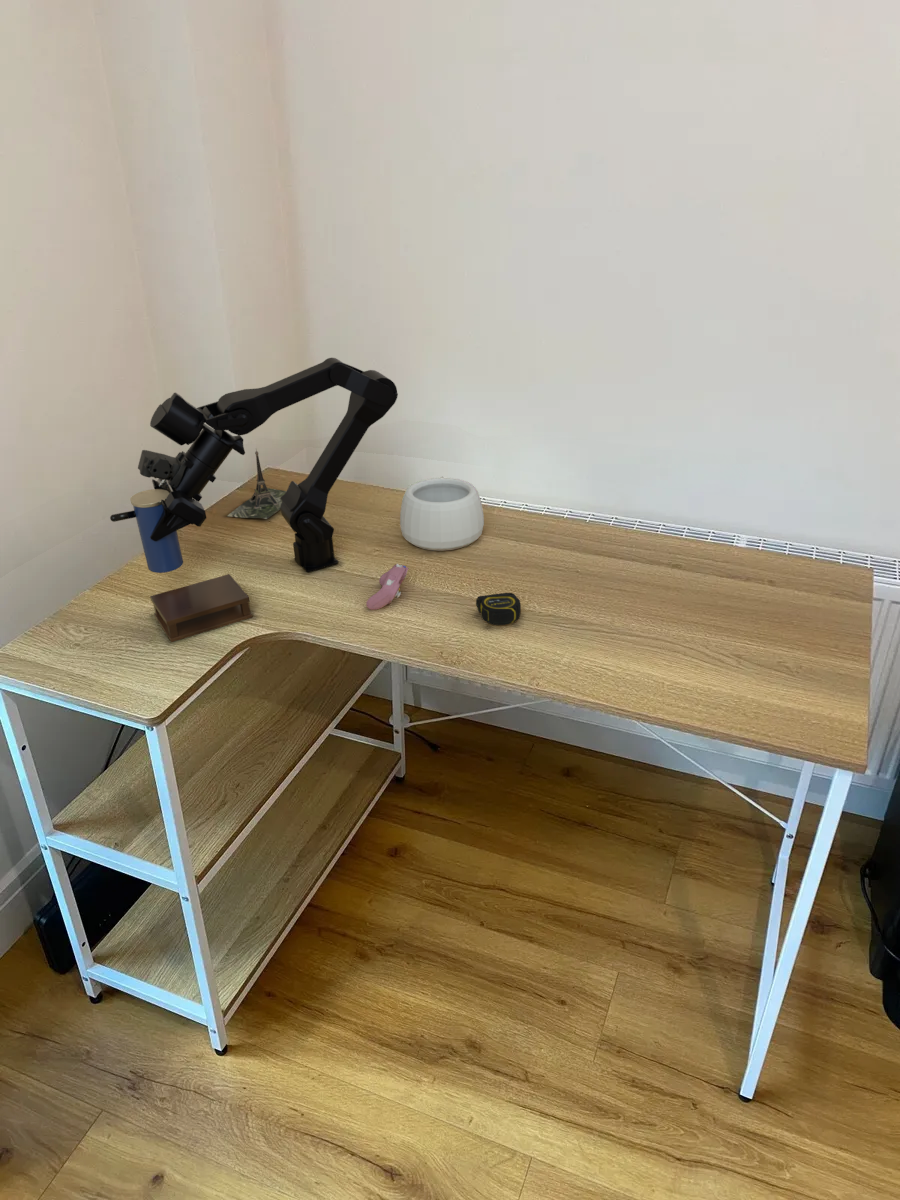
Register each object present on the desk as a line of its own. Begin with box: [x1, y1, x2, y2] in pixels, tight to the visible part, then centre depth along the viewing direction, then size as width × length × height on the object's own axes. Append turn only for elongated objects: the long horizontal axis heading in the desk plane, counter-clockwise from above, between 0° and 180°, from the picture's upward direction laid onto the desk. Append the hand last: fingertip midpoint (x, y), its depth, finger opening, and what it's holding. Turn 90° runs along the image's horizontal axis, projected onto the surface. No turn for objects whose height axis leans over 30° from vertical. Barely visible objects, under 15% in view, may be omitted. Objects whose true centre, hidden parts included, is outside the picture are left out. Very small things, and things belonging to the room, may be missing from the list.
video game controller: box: [365, 563, 409, 611], centre depth 150 cm, size 10×5×7 cm, turn 168°
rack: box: [149, 573, 253, 643], centre depth 146 cm, size 14×10×4 cm
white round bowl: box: [399, 476, 485, 552], centre depth 172 cm, size 21×17×10 cm
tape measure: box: [475, 592, 522, 626], centre depth 143 cm, size 7×7×4 cm
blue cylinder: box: [109, 488, 184, 574], centre depth 147 cm, size 10×6×13 cm, turn 115°
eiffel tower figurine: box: [227, 449, 287, 520], centre depth 184 cm, size 15×10×13 cm
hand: (149, 532), depth 147 cm, fingers closed on blue cylinder, 6 cm apart
